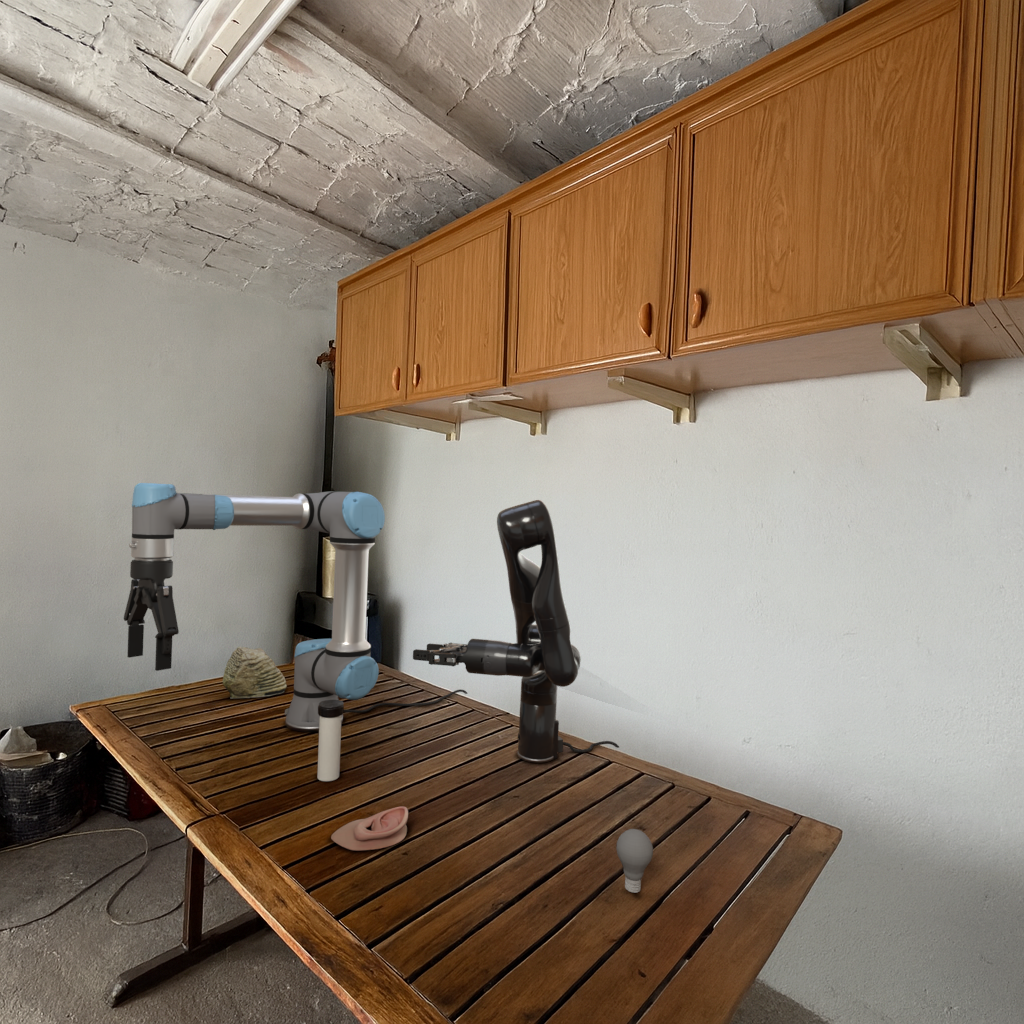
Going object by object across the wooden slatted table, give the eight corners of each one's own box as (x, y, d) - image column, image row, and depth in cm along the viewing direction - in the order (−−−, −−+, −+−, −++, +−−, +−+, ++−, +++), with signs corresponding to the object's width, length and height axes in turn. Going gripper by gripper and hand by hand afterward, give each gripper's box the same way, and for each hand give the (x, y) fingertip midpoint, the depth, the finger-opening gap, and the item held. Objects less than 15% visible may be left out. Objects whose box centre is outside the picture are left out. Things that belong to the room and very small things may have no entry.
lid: (344, 709, 146) (345, 699, 146) (342, 717, 141) (342, 707, 141) (319, 709, 146) (320, 699, 145) (316, 717, 140) (316, 707, 140)
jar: (340, 771, 146) (343, 701, 146) (337, 781, 141) (340, 708, 141) (319, 772, 145) (321, 702, 145) (315, 781, 141) (318, 708, 140)
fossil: (218, 695, 195) (220, 647, 195) (278, 685, 208) (279, 640, 207) (228, 703, 189) (230, 653, 188) (289, 692, 201) (290, 645, 201)
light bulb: (610, 879, 108) (613, 822, 108) (644, 879, 109) (647, 822, 109) (619, 902, 102) (622, 840, 102) (655, 901, 103) (658, 840, 103)
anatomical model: (323, 824, 115) (352, 795, 126) (322, 845, 115) (351, 815, 126) (392, 835, 112) (415, 805, 123) (391, 857, 112) (414, 825, 123)
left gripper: (108, 554, 134) (104, 654, 134) (159, 565, 118) (155, 678, 119) (146, 552, 140) (143, 648, 140) (199, 563, 124) (195, 671, 124)
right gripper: (498, 635, 147) (431, 630, 151) (481, 645, 133) (409, 639, 137) (496, 668, 147) (430, 662, 150) (480, 681, 133) (407, 674, 136)
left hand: (148, 662), depth 129 cm, fingers open, 13 cm apart
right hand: (420, 651), depth 143 cm, fingers open, 8 cm apart
